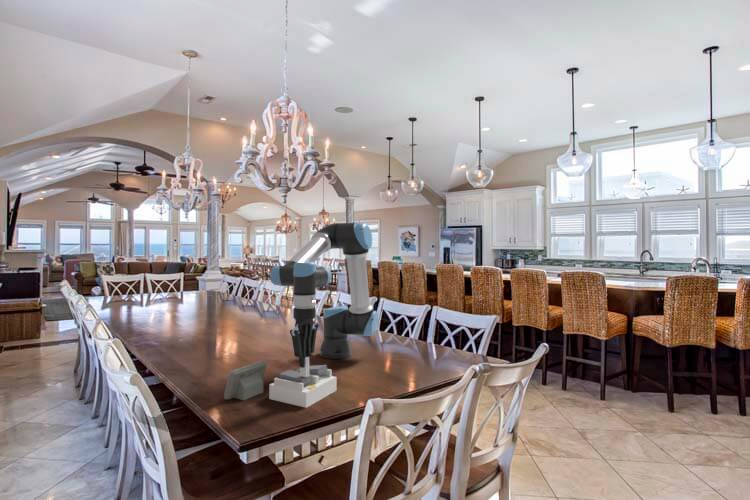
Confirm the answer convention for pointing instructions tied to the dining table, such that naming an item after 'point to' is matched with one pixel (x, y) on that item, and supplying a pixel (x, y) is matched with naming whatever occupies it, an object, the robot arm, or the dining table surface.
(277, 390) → the switch unit
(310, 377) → the rocker
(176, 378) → the dining table surface
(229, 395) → the digital clock
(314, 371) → the rocker
